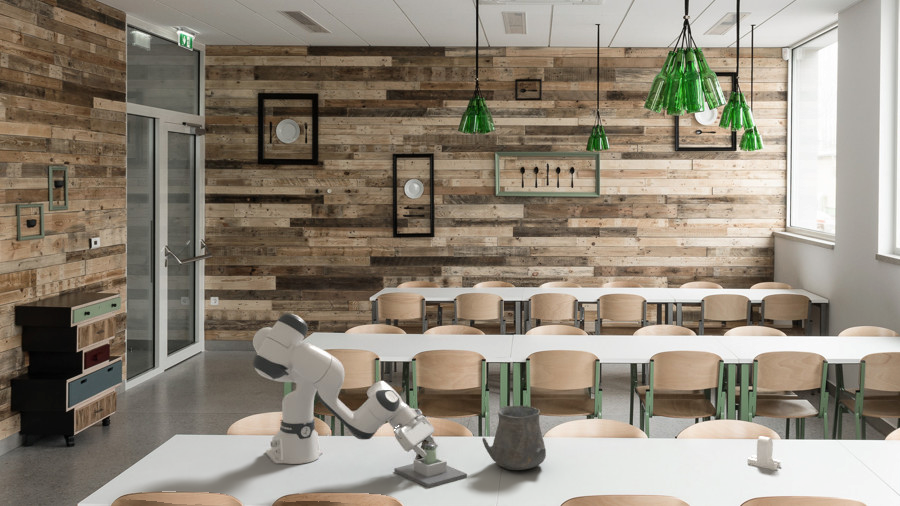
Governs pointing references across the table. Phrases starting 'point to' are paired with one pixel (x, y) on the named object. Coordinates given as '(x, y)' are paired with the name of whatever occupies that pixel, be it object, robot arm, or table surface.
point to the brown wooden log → (423, 447)
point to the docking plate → (430, 472)
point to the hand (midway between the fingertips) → (430, 451)
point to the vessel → (517, 439)
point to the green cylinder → (430, 453)
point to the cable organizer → (764, 454)
